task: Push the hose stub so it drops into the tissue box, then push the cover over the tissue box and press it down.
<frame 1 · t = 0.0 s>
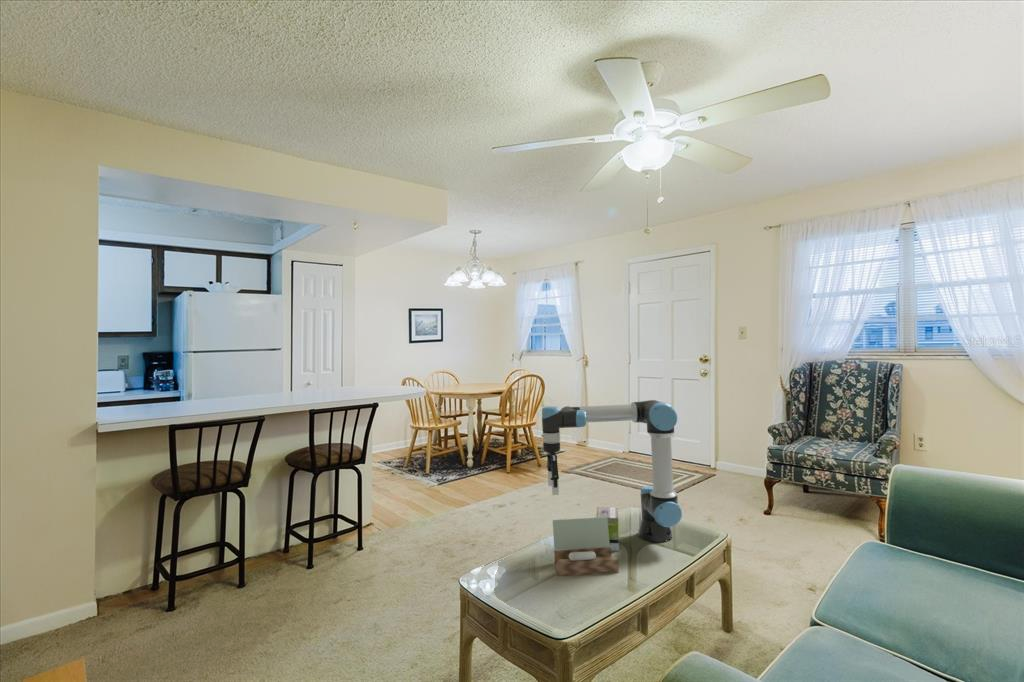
hand: (553, 490, 211), 28 cm above the table, fingers open, 13 cm apart
tissue box: (585, 567, 196), on the table
tea box: (608, 544, 219), on the table
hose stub: (582, 556, 192), point 7 cm above the table, touching tissue box
cover: (581, 533, 204), point 11 cm above the table, hinge at 100.0°
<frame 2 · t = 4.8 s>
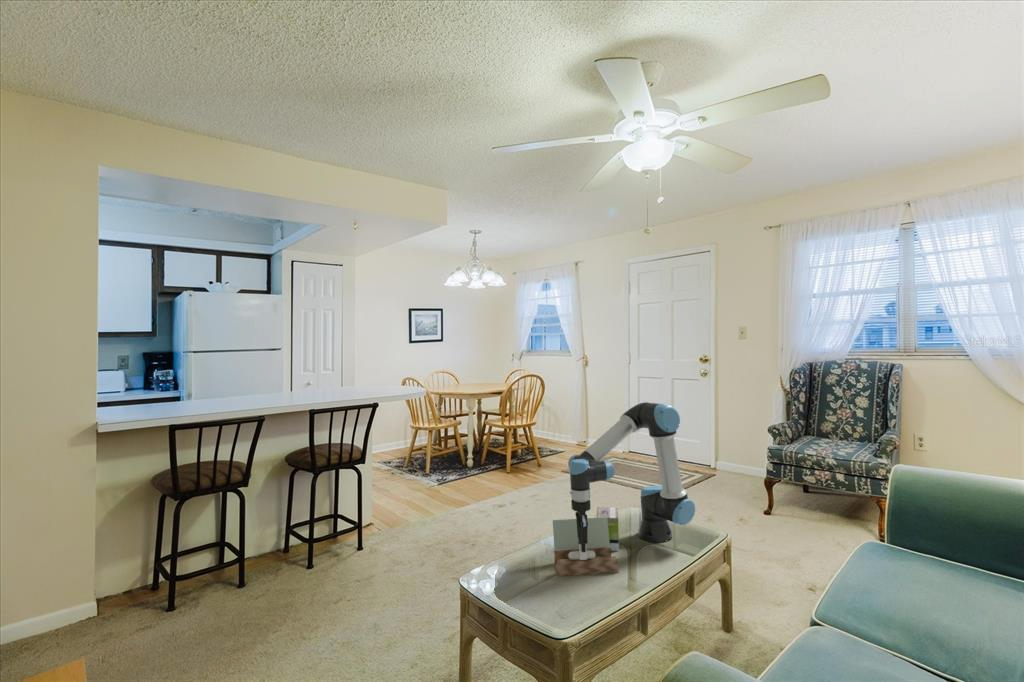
hand: (583, 558, 190), 6 cm above the table, fingers closed
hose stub: (581, 555, 192), point 7 cm above the table, tilted 29°, touching tissue box, gripper
everything else where it was.
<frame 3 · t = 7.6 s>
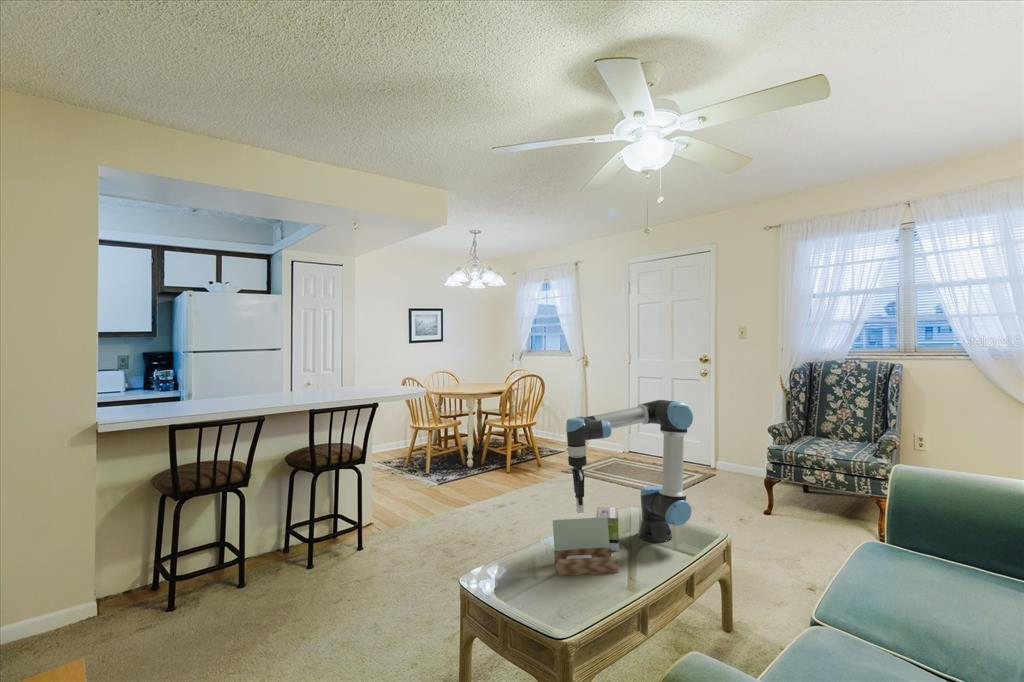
hand: (580, 512, 199), 22 cm above the table, fingers closed
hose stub: (579, 559, 199), point 2 cm above the table, tilted 20°, touching tissue box
everything else where it was.
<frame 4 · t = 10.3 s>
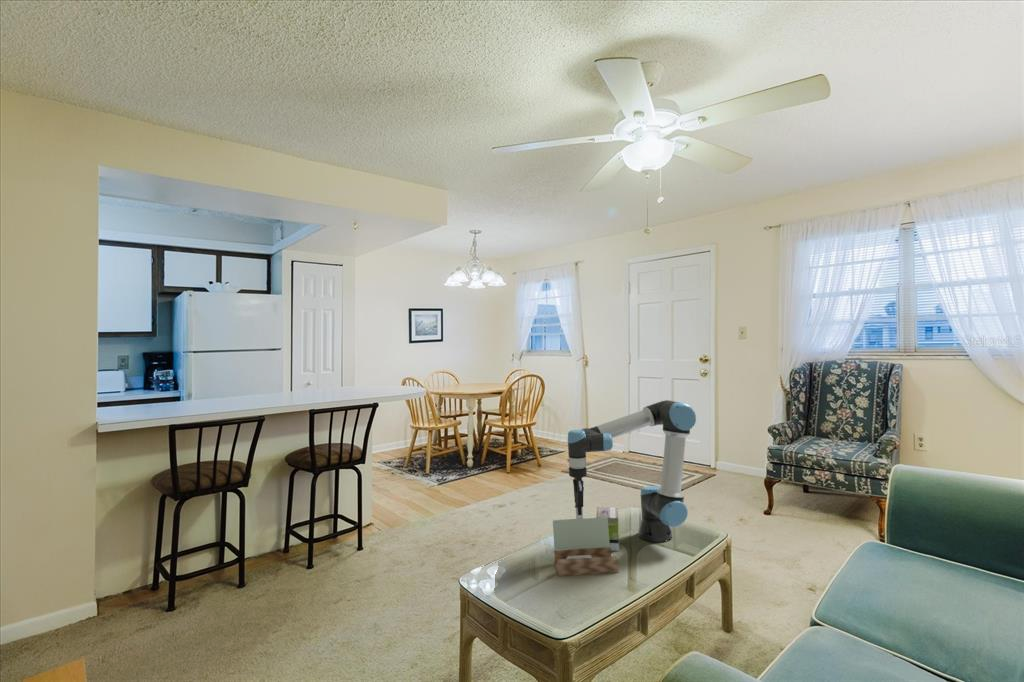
hand: (579, 521, 205), 16 cm above the table, fingers closed
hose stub: (579, 559, 199), point 2 cm above the table, tilted 26°, touching tissue box
cover: (581, 533, 203), point 11 cm above the table, hinge at 96.8°, touching gripper
everything else where it was.
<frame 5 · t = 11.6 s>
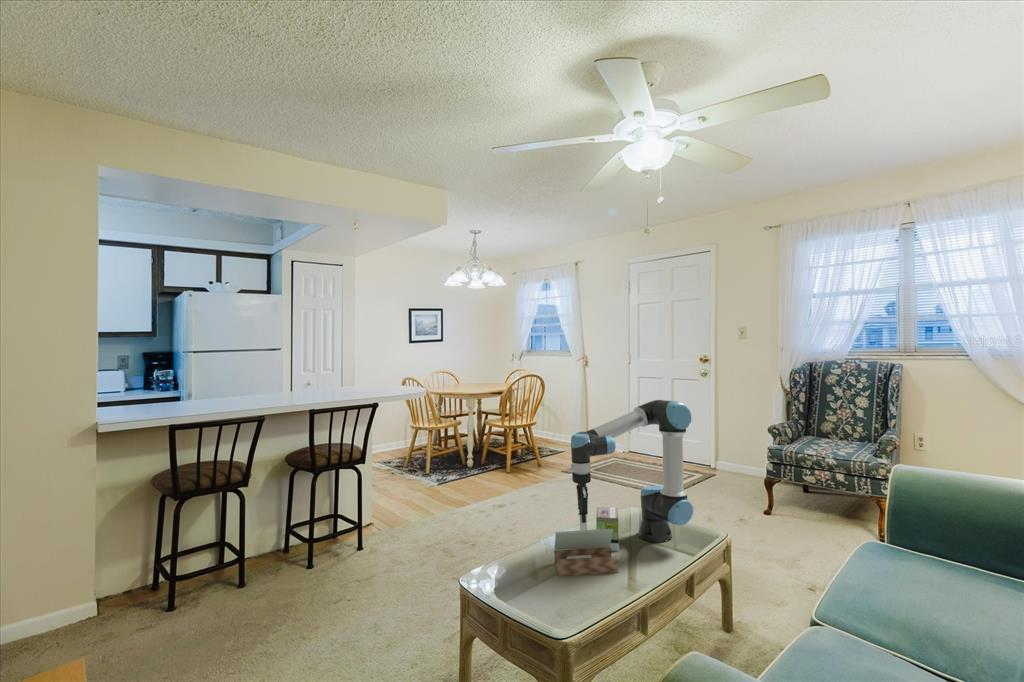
hand: (583, 529, 197), 15 cm above the table, fingers closed
cover: (583, 539, 199), point 10 cm above the table, hinge at 53.0°, touching gripper
everything else where it was.
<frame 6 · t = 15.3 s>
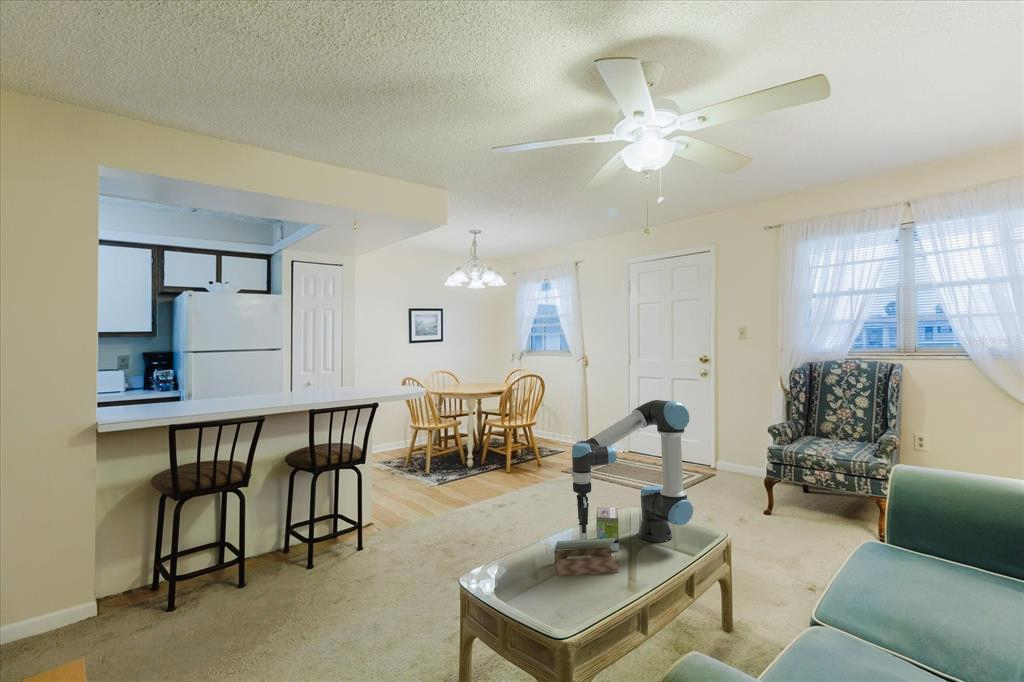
hand: (583, 539, 196), 11 cm above the table, fingers closed
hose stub: (579, 559, 199), point 2 cm above the table, tilted 38°, touching tissue box
cover: (584, 544, 198), point 9 cm above the table, hinge at 34.2°, touching gripper
everything else where it was.
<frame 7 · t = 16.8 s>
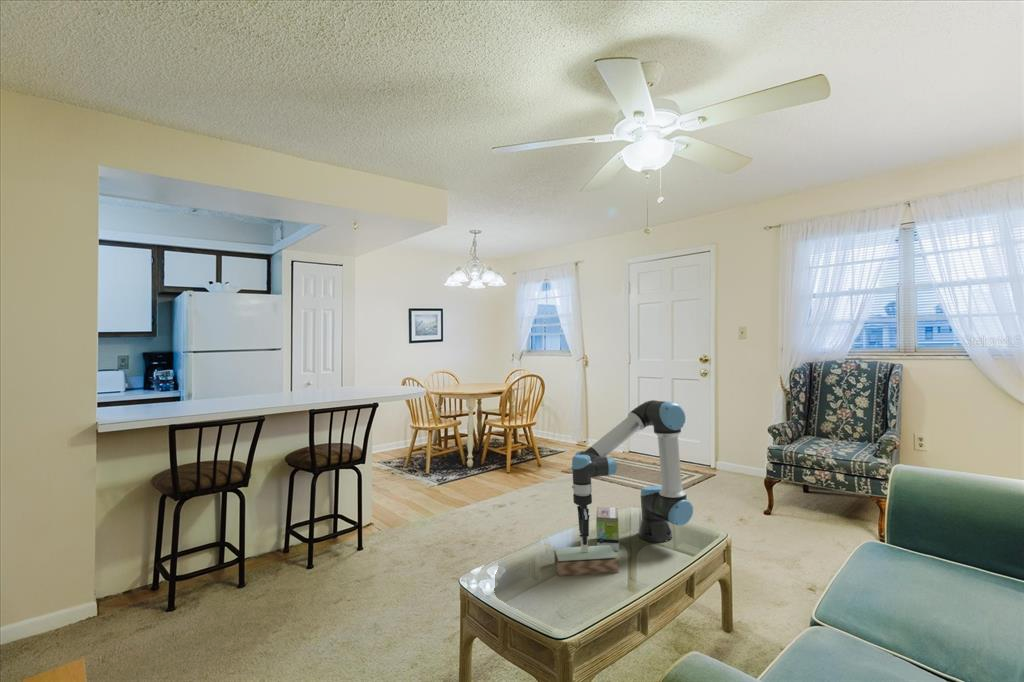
hand: (584, 551, 196), 7 cm above the table, fingers closed
cover: (585, 552, 196), point 6 cm above the table, hinge at 2.8°, touching gripper
everything else where it was.
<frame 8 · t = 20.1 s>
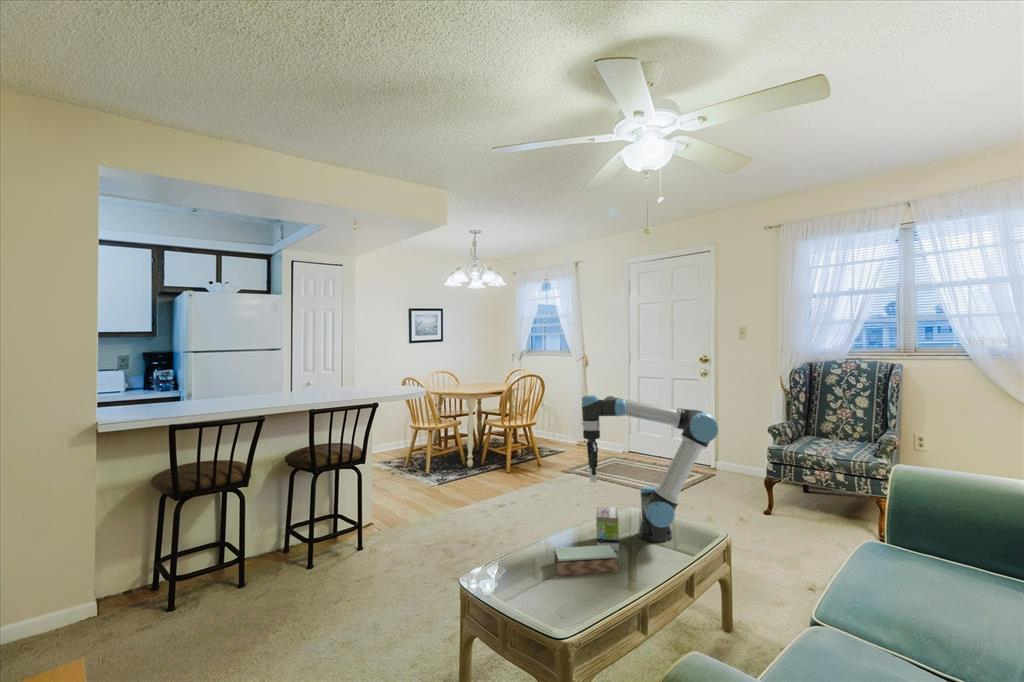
hand: (593, 481, 217), 29 cm above the table, fingers closed
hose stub: (579, 560, 199), point 2 cm above the table, tilted 49°, touching tissue box
cover: (585, 552, 196), point 6 cm above the table, hinge at 2.8°
everything else where it was.
at the end: cover at +3° (first picture: +100°); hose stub inside the target area on the tissue box (2.4 cm from its centre), point 2.1 cm above the tissue box's base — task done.
